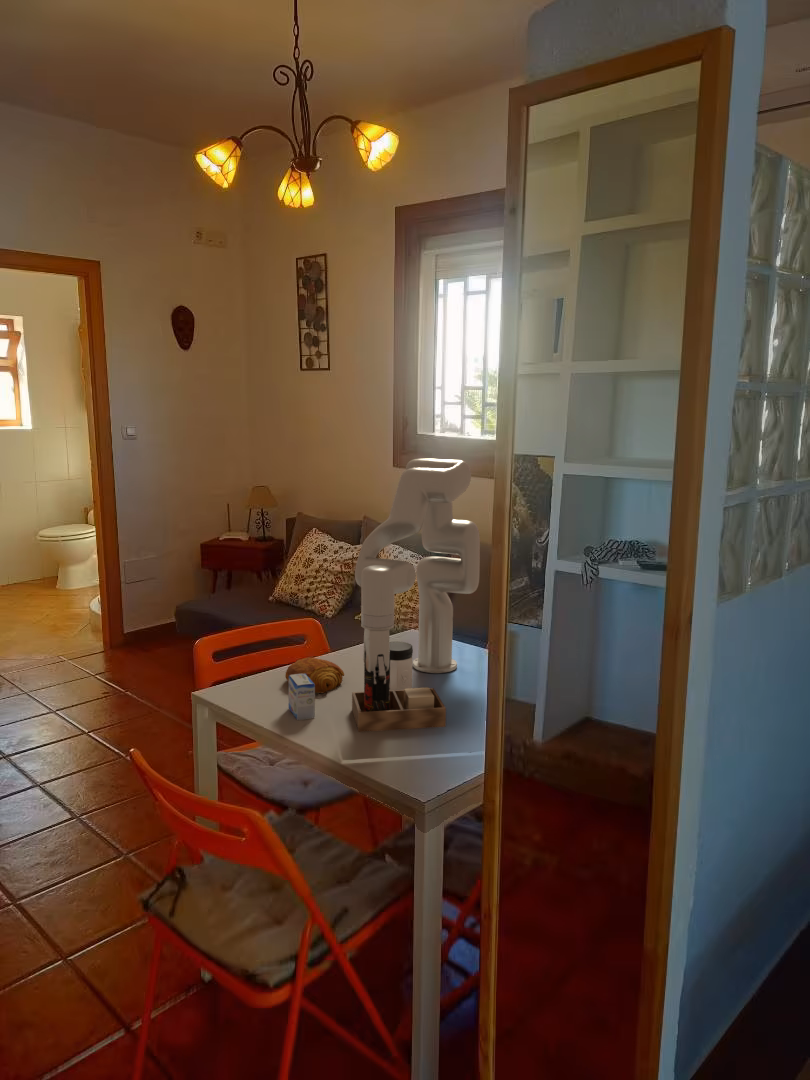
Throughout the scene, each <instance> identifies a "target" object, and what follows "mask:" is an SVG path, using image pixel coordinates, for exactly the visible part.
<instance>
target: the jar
mask: <svg viewBox="0 0 810 1080" xmlns="http://www.w3.org/2000/svg"><path fill="white" fill-rule="evenodd" d="M389 643H390V690H404V689H407V688H413V653H414V651H413V650H414V648H413V645H412V644H411V643H409V642H405V641H389Z"/></svg>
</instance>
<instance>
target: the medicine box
mask: <svg viewBox="0 0 810 1080" xmlns="http://www.w3.org/2000/svg"><path fill="white" fill-rule="evenodd" d="M315 701H316V693H315V684H314V683H313V682H312V681H311V680H310V678H309V677H308V676H307V675H306V674H294V675H289V682H288V709H289V711H290V712H291V713H292V715H293V716H294V718H295V719H296V720H297V721H302V720H303V721H304V720H310V719H314V718H315V717H316V716H315V715H316V714H315V713H316V712H315V711H316V702H315Z"/></svg>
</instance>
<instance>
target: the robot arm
mask: <svg viewBox="0 0 810 1080" xmlns="http://www.w3.org/2000/svg"><path fill="white" fill-rule="evenodd" d="M471 470H472V469H471V467H470V465H469V463H467V462H466V461H465V460H462V459H448V458H447V459H442V458H430V457H429V458H425V457H424V458H421V457H419V458H414V459H411V460H410V461H408V462H407V464H406V465H405V470H404V471H403V472H402V473H401V475H400V477H399V481H398V484H397V488H396V490H395V495H394V498H393V502H392V505H391V509H390V512H389V515H388V518H387V519H386V520H385V521H383V522H382V523H380V524H379V525H378V526H376V527H375V528H374V530H373V531H371V532H370V533H369V535H367V537H366V538H364V539H365V540H364V541H363V542H362V545H361V548H360V550H359V553H358V557H357V560H356V564H355V570H354V579H355V582H356V584H357V585H358V586H359V587H360V588H361V589H360V590H361V591H360V592H361V594H360V595H361V597H360V599H361V600H360V601H361V605H360V608H361V610H360V611H361V612H360V613H361V614H360V616H361V618H360V619H361V620H360V622H361V623H360V625H361V626H360V627H362V628H363V629H364V630H363V632H364V633H363V634H364V635H363V653H362V657H363V658H362V660H363V662H364V651H365V652H366V669H367V671H368V672H371V671H373V682H374V683H372V700H373V701H379V700H386V671H388V670H389V654H390V643H389V642H390V640H391V639H390V638H391V637H390V630H391V629H393V628H394V627H395V595H396V594H402V593H403V594H404V593H405V592H408V591H409V590H410V589H411V588H412V587H413V586H414V584H415V582H417V588H418V589H417V590H418V601H419V602H418V603H419V604H418V641H417V642H418V646H417V647H418V650H417V658H415V659H412V668H413V669H415V670H416V671H419V672H422V673H427V674H445V673H449V672H453V671H454V670H456V669H457V667H458V662H457V660H455V659H453V629H454V628H453V625H454V624H453V623H454V622H453V621H454V620H453V619H454V605H453V603H452V601H451V598H450V596H449V594H448V593H453V594H464V595H467V594H468V595H470V594H473V593H474V592H476V591H477V589H478V587H479V584H480V567H481V566H480V565H481V564H480V563H481V562H480V561H481V559H480V557H481V555H480V554H481V553H480V551H481V549H480V548H481V543H480V542H481V541H480V540H481V539H480V536H481V535H480V530H479V528H478V526H477V525H478V524H476V522H474V521H471V520H468V519H455V518H454V515H453V502H454V501H456V499H458V498H459V497H460V496H461V495H463V494H464V493H465V492H466V491H467V490H468V488H469V486H470V484H471V481H472V480H471V479H472V471H471ZM420 531H421V543H422V547H423V548H424V550H426V551H427V552H429V553H430V552H431V553H436V554H444V555H448V554H449V555H457V556H459V558H457V557H450V556H448V557H446V556H435V555H433V556H431V555H430V556H426V557H423V558H422V559H420V560H419V562H418V563H417V565H416V569H415V567H414V566H413V564H412V563H410V562H409V561H405V560H399V559H388V558H380V557H378V558H377V556H378V554H379V553H380V552H381V550H383V549H384V548H385V547H387V546H389V545H390V544H392V543H395V542H397V541H400V540H403V539H406V538H409V537H412V536H414V535H416V534H418V533H419V532H420ZM385 666H387V667H385ZM377 667H378V670H375V668H377ZM376 673H378V675H377V677H376Z"/></svg>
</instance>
